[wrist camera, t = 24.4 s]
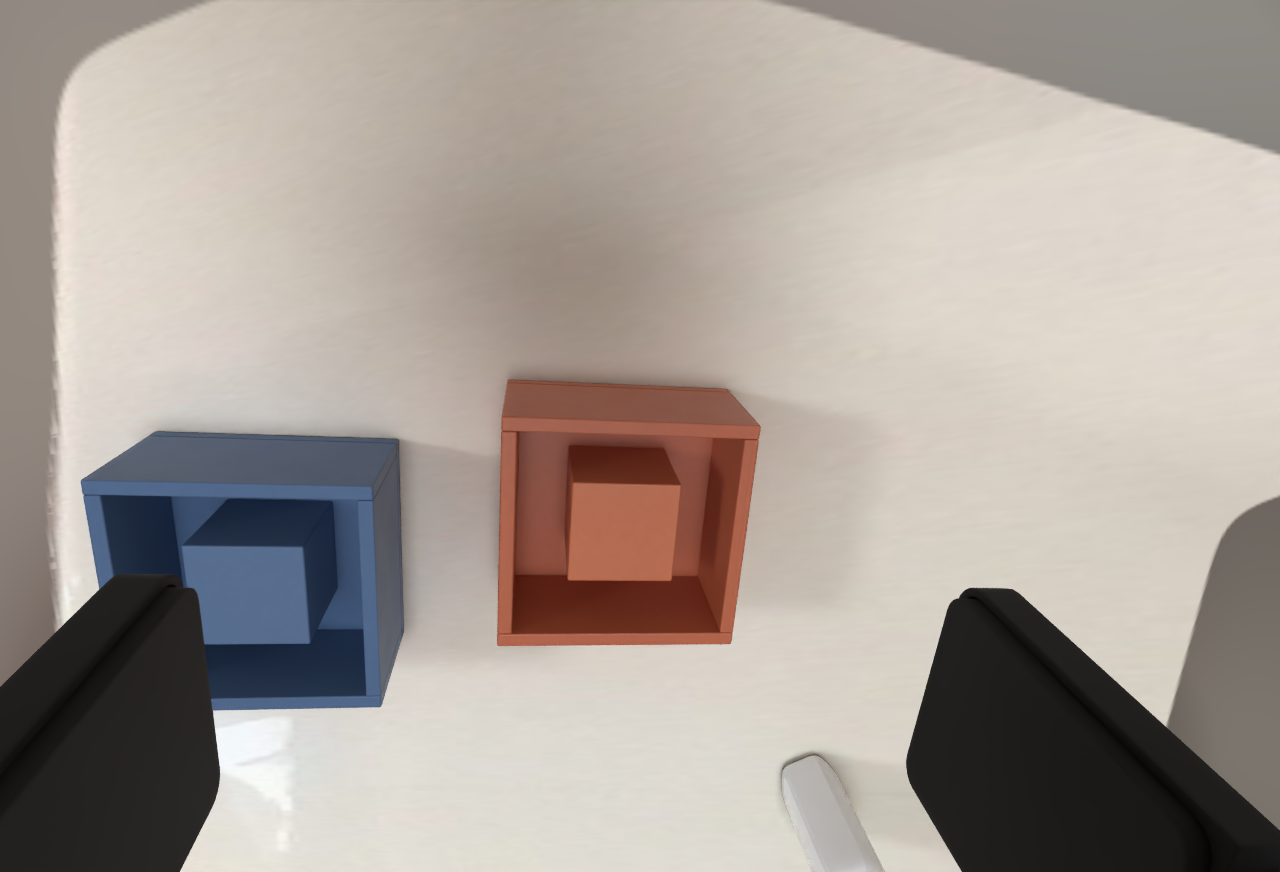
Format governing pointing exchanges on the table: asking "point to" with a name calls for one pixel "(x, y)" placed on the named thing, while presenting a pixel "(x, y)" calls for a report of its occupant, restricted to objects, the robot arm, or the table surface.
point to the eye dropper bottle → (826, 819)
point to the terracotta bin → (707, 523)
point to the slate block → (263, 571)
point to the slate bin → (283, 471)
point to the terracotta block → (620, 514)
